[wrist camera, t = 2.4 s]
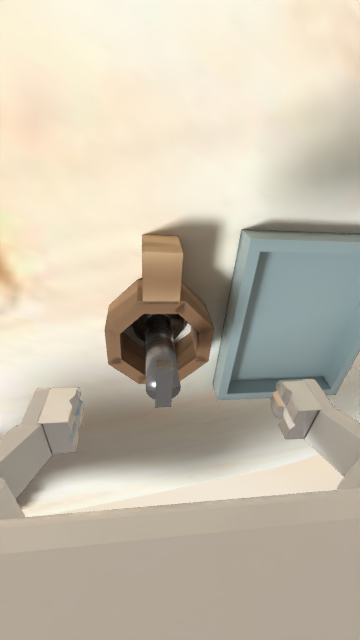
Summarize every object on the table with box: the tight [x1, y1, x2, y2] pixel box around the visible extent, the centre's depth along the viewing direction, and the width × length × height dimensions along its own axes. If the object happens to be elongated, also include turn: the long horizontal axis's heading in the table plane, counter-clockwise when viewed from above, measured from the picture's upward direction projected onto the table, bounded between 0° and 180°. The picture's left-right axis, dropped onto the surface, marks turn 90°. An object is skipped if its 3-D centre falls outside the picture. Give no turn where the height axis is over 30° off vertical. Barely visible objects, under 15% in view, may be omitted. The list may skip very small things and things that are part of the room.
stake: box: [133, 314, 183, 408], centre depth 24 cm, size 5×5×10 cm
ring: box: [105, 235, 214, 384], centre depth 26 cm, size 14×9×4 cm
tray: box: [213, 230, 360, 400], centre depth 29 cm, size 19×15×2 cm
